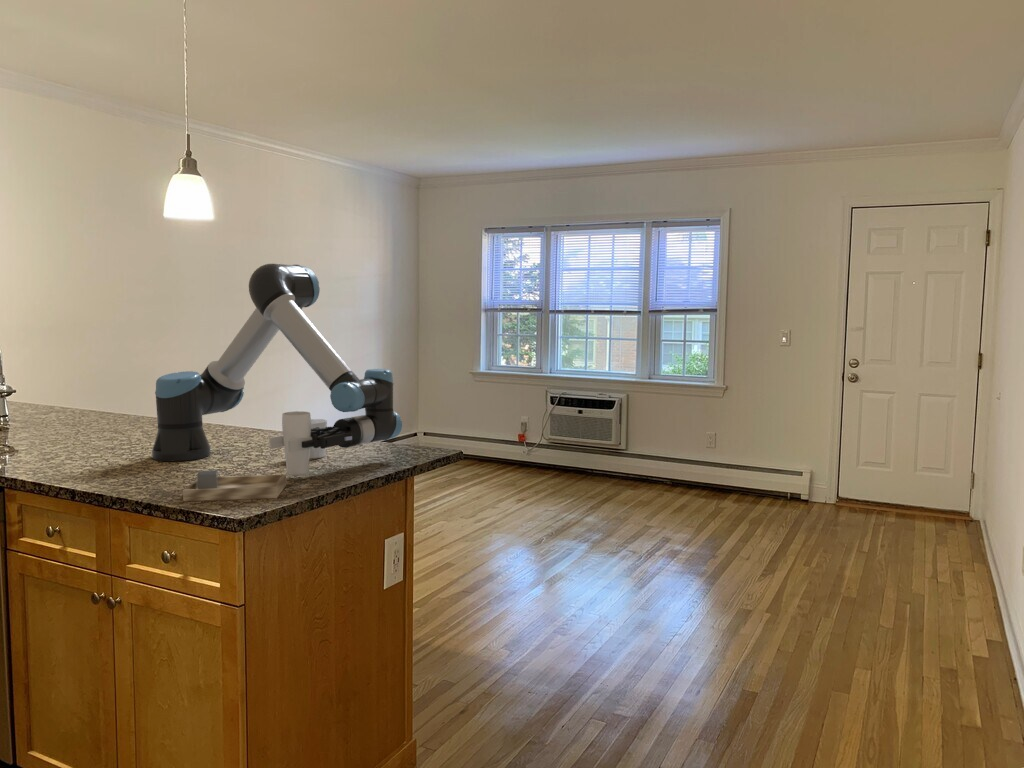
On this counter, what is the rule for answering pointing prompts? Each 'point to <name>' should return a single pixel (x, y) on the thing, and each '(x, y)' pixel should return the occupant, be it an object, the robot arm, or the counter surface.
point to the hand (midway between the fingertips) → (279, 444)
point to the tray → (238, 488)
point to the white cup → (318, 451)
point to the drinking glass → (296, 428)
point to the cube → (208, 479)
